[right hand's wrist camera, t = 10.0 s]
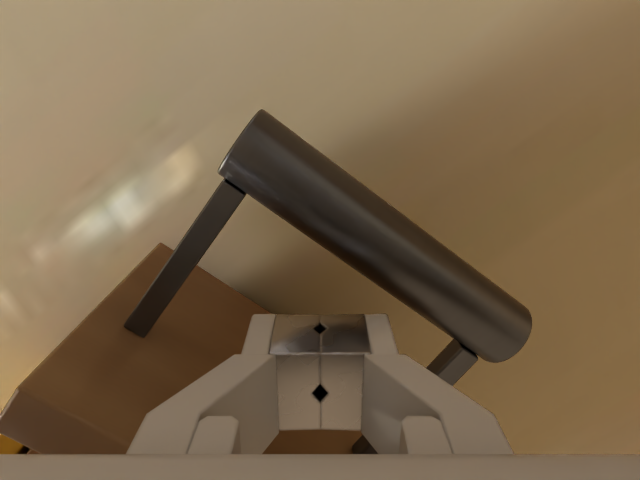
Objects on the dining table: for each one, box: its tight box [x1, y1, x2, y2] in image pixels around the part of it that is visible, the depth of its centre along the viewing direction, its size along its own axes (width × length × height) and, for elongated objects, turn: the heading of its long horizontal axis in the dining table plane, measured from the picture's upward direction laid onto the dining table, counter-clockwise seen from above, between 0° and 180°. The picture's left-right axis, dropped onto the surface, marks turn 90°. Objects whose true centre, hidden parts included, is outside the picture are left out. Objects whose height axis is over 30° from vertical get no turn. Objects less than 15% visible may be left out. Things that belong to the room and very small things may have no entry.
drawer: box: [0, 109, 532, 454], centre depth 14 cm, size 20×9×8 cm, turn 143°
